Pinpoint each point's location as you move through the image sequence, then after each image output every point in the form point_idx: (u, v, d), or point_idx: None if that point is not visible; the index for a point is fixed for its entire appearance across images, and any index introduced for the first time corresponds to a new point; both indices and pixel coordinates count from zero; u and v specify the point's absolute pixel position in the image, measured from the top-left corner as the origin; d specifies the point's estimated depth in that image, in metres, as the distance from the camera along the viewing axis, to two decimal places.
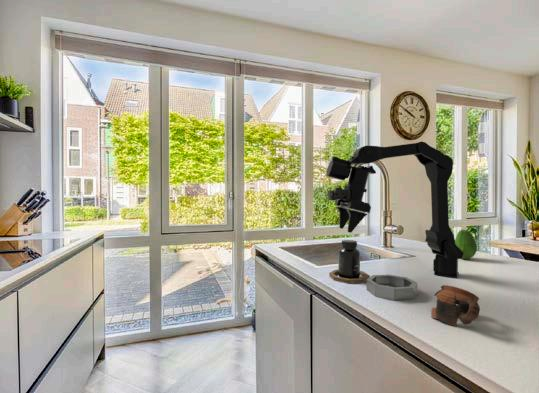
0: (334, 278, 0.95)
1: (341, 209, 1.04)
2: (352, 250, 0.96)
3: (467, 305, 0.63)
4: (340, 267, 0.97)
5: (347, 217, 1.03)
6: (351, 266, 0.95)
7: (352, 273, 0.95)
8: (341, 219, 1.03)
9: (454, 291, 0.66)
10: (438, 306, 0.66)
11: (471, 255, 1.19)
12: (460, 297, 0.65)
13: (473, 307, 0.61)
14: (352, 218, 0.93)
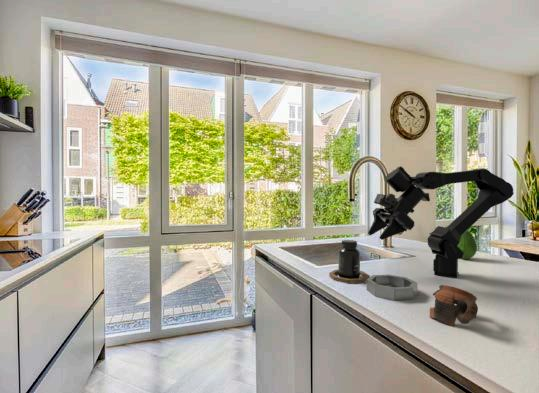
0: (334, 278, 0.95)
1: (378, 218, 1.04)
2: (352, 250, 0.96)
3: (465, 305, 0.63)
4: (340, 267, 0.97)
5: (379, 228, 1.04)
6: (351, 266, 0.95)
7: (352, 273, 0.95)
8: (373, 226, 1.03)
9: (452, 291, 0.66)
10: (436, 305, 0.66)
11: (471, 255, 1.19)
12: (458, 297, 0.65)
13: (471, 307, 0.61)
14: (390, 227, 0.93)
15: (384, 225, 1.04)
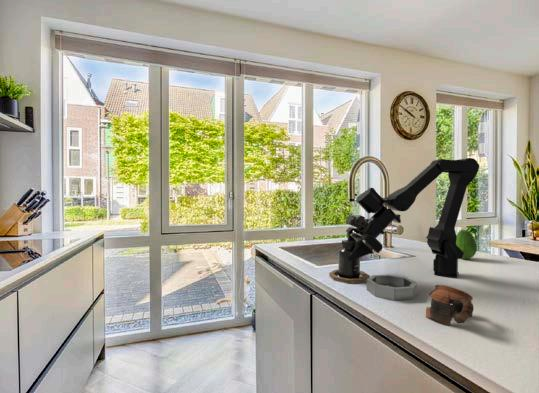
0: (334, 278, 0.95)
1: (351, 238, 1.02)
2: (352, 250, 0.96)
3: (461, 304, 0.63)
4: (340, 267, 0.97)
5: None
6: (351, 266, 0.95)
7: (352, 273, 0.95)
8: None
9: (448, 291, 0.66)
10: (432, 305, 0.67)
11: (471, 255, 1.19)
12: (454, 296, 0.65)
13: (467, 306, 0.61)
14: (358, 249, 0.93)
15: None
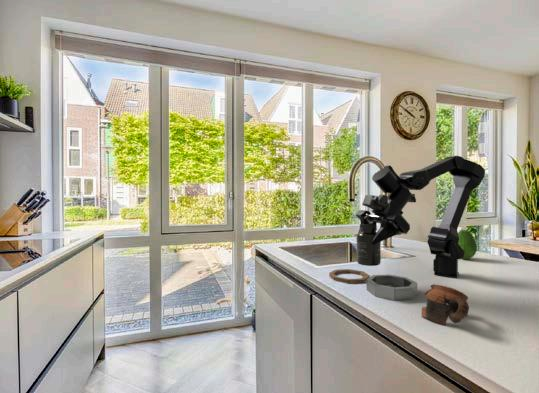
0: (334, 278, 0.95)
1: (365, 221, 0.94)
2: (374, 233, 0.88)
3: (456, 304, 0.63)
4: (361, 253, 0.88)
5: None
6: (374, 250, 0.87)
7: (375, 258, 0.87)
8: None
9: (444, 291, 0.67)
10: (428, 305, 0.67)
11: (471, 255, 1.19)
12: (450, 296, 0.65)
13: (462, 306, 0.61)
14: (383, 231, 0.86)
15: None
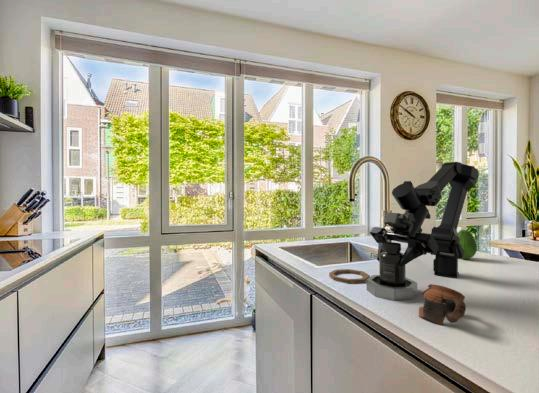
0: (334, 278, 0.95)
1: (384, 240, 0.89)
2: (400, 253, 0.83)
3: (453, 304, 0.63)
4: (388, 275, 0.82)
5: None
6: (402, 272, 0.81)
7: (403, 280, 0.81)
8: (381, 250, 0.87)
9: (441, 290, 0.67)
10: (425, 305, 0.67)
11: (471, 255, 1.19)
12: (447, 296, 0.65)
13: (459, 306, 0.61)
14: (410, 251, 0.81)
15: None
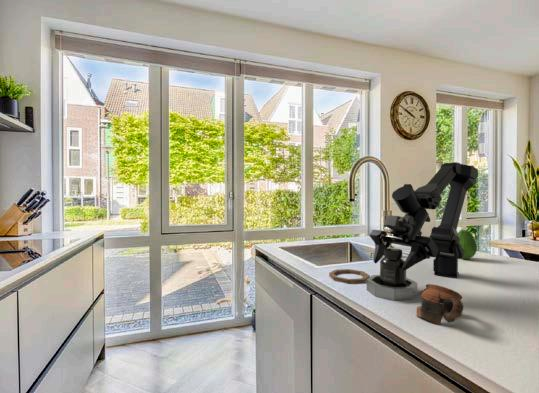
0: (334, 278, 0.95)
1: (381, 242, 0.90)
2: (401, 260, 0.82)
3: (451, 303, 0.64)
4: (389, 282, 0.82)
5: (382, 253, 0.90)
6: (403, 279, 0.81)
7: None
8: (378, 253, 0.88)
9: (438, 290, 0.67)
10: (423, 304, 0.67)
11: (471, 255, 1.19)
12: (444, 296, 0.65)
13: (457, 305, 0.62)
14: (414, 255, 0.80)
15: None
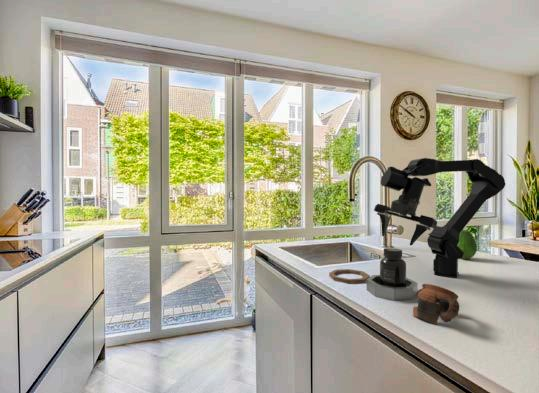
0: (334, 278, 0.95)
1: (386, 217, 1.01)
2: (401, 260, 0.82)
3: (447, 303, 0.64)
4: (388, 282, 0.82)
5: (387, 224, 1.03)
6: (402, 279, 0.81)
7: None
8: (385, 227, 1.01)
9: (435, 290, 0.67)
10: (419, 304, 0.67)
11: (471, 255, 1.19)
12: (440, 295, 0.66)
13: (453, 305, 0.62)
14: None
15: (389, 219, 1.04)
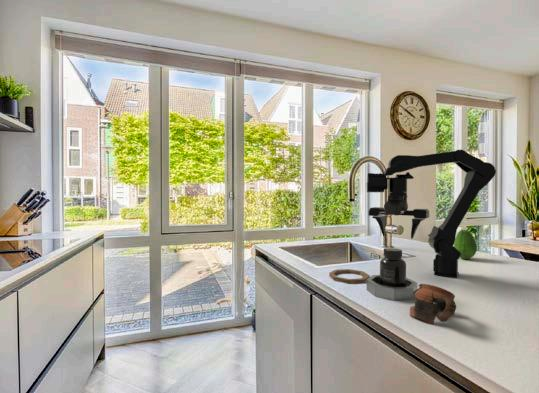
0: (334, 278, 0.95)
1: (381, 218, 1.06)
2: (401, 260, 0.82)
3: (444, 303, 0.64)
4: (388, 282, 0.82)
5: (384, 224, 1.08)
6: (402, 279, 0.81)
7: None
8: (383, 227, 1.06)
9: (432, 290, 0.67)
10: (416, 304, 0.67)
11: (471, 255, 1.19)
12: (437, 295, 0.66)
13: (450, 305, 0.62)
14: None
15: (384, 218, 1.09)
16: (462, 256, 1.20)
